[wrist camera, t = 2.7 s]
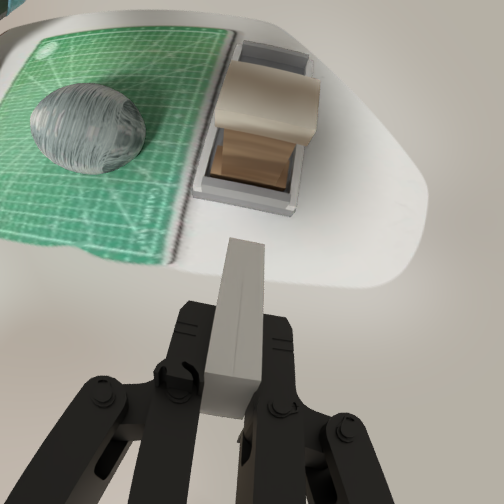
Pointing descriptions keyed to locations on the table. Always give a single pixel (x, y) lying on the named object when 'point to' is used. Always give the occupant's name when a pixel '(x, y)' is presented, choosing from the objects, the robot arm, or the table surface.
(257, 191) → the gray rectangular tray
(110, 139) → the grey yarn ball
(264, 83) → the block
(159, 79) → the table surface
